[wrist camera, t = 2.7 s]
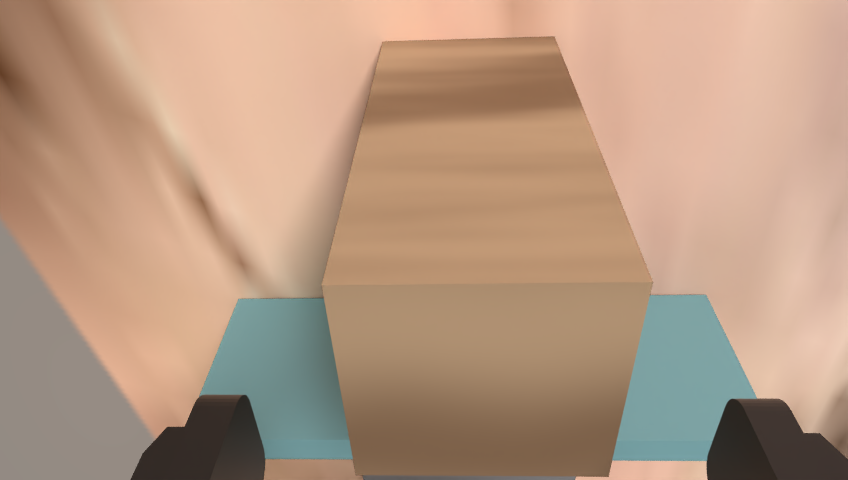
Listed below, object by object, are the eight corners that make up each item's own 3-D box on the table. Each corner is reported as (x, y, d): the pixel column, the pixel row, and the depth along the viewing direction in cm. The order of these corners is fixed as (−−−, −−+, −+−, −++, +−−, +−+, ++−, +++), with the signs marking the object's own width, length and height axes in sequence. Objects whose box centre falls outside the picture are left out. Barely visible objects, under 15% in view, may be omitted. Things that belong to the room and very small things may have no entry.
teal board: (238, 298, 25) (181, 439, 19) (706, 294, 24) (778, 440, 19) (243, 317, 25) (190, 458, 20) (700, 314, 24) (768, 461, 19)
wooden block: (382, 41, 18) (321, 285, 10) (554, 36, 18) (652, 282, 9) (395, 195, 22) (357, 484, 13) (541, 192, 21) (606, 486, 13)
